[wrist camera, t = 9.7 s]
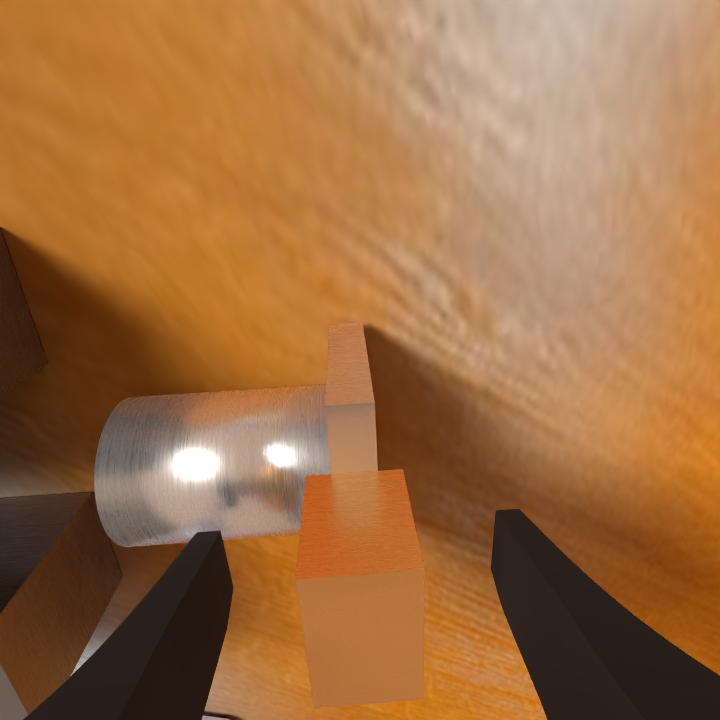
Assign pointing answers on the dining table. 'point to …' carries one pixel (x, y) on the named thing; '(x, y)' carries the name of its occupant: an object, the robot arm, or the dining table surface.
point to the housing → (43, 549)
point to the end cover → (286, 509)
